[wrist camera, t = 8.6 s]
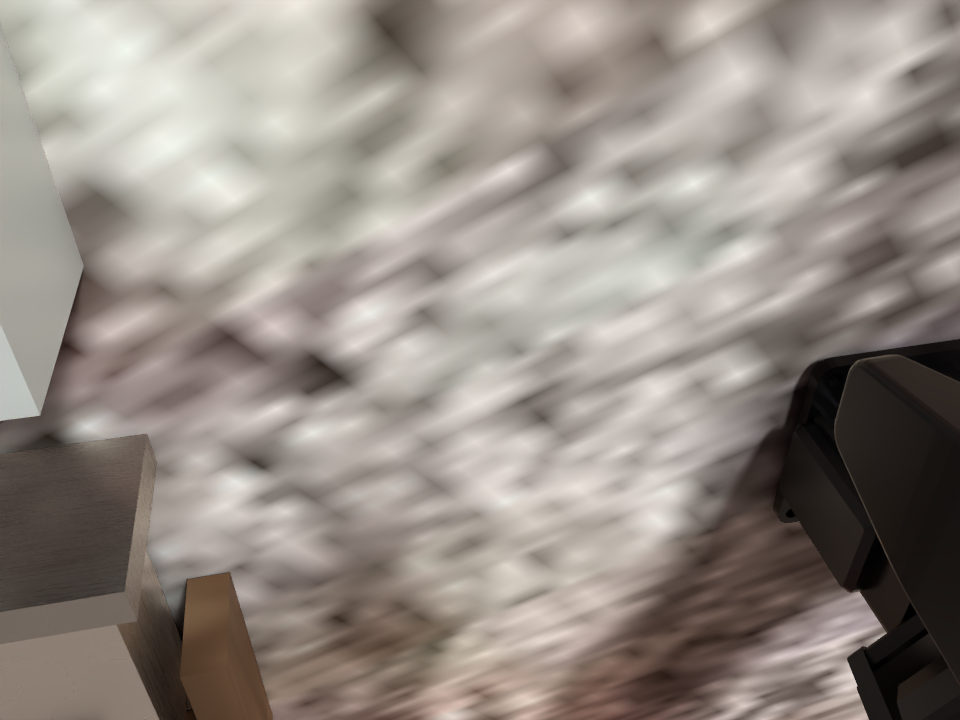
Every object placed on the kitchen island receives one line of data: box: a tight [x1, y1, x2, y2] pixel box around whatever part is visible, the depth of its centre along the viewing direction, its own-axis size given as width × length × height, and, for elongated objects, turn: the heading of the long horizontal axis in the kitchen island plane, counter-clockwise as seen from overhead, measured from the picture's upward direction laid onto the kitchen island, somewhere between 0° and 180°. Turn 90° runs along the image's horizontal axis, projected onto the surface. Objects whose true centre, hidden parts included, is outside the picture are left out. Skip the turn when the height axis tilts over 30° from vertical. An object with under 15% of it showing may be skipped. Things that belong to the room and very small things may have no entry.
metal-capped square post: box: [0, 434, 187, 720], centre depth 22 cm, size 7×10×5 cm
